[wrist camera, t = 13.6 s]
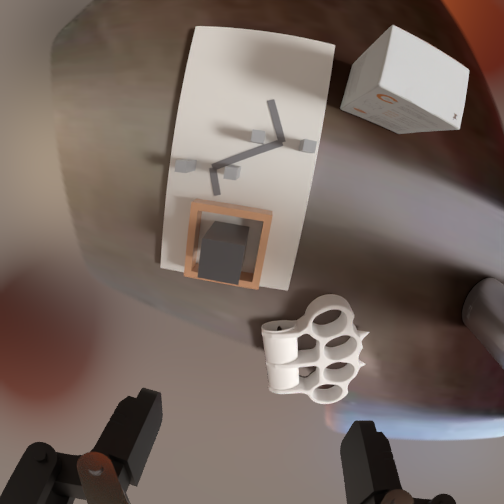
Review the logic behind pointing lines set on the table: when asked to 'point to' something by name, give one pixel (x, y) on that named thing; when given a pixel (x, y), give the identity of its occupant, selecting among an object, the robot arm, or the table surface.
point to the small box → (406, 85)
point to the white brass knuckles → (313, 352)
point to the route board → (247, 140)
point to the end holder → (232, 210)
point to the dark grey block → (223, 252)
